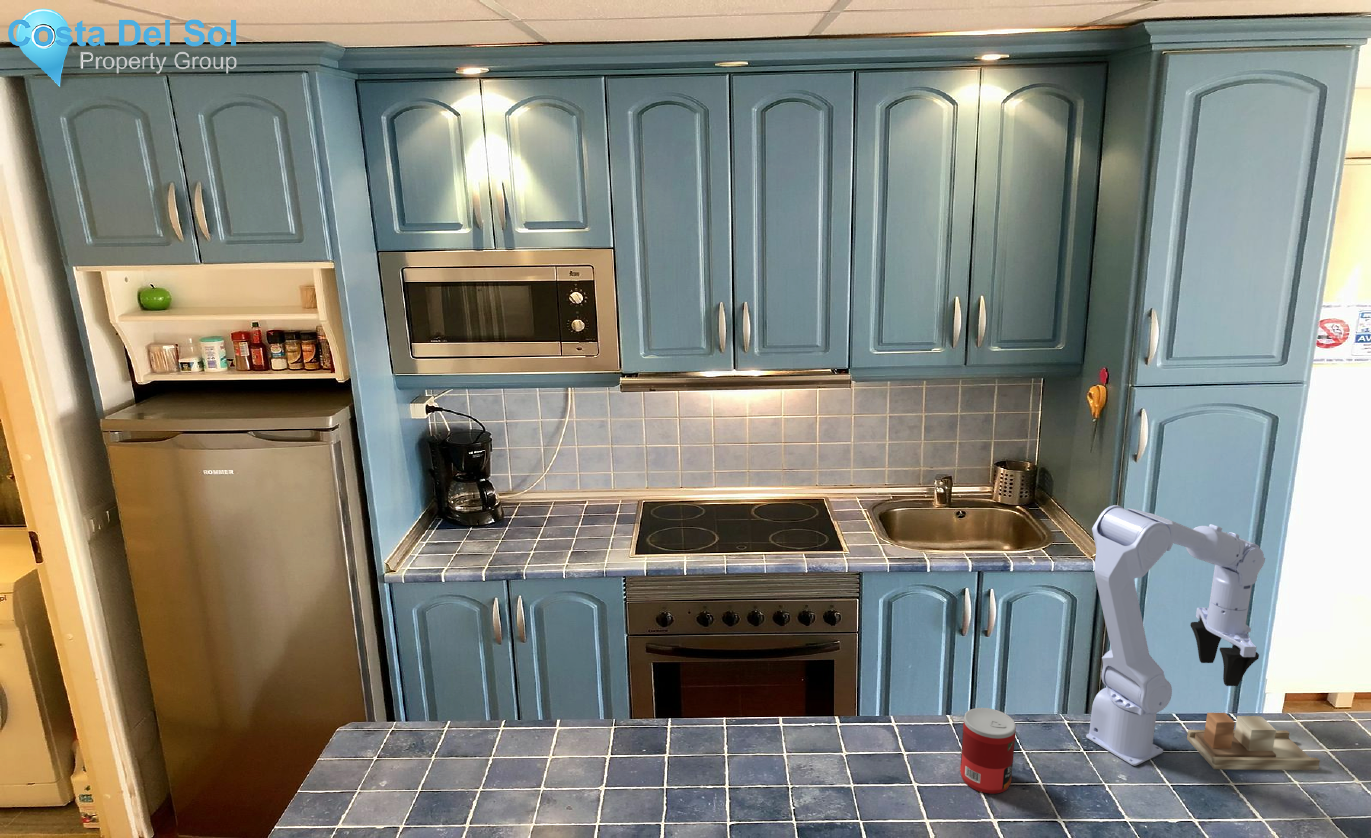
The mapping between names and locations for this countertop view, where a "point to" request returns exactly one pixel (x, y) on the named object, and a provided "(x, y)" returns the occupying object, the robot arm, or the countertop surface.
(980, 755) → the canned food
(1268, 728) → the cube
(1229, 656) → the robot arm
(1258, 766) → the rail bed
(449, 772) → the countertop surface
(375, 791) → the countertop surface
